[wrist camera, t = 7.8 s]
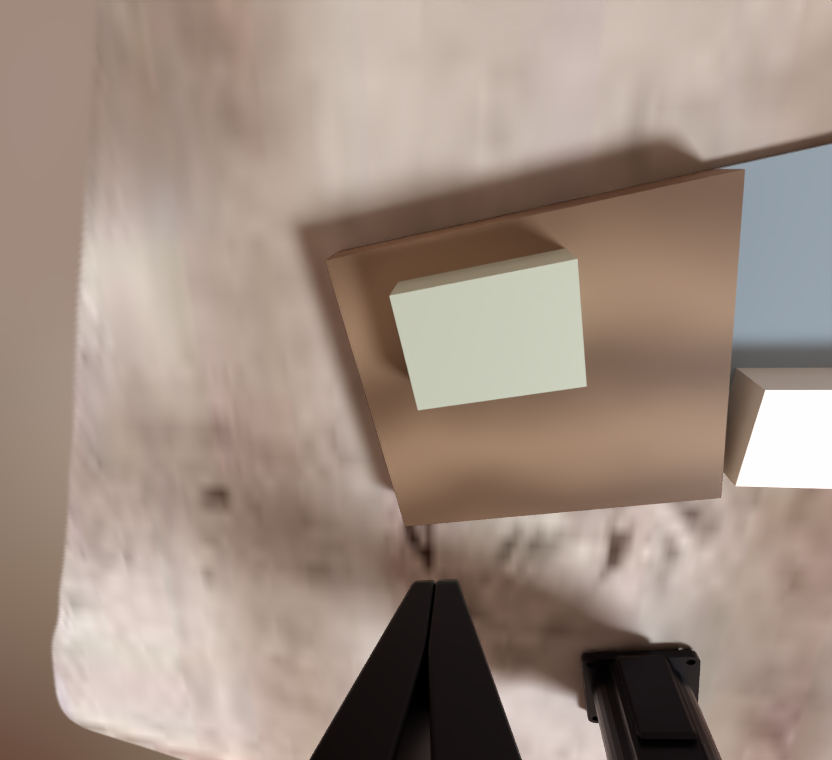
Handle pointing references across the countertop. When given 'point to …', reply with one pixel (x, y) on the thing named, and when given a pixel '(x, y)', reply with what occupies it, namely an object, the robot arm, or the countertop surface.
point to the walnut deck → (603, 348)
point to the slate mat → (785, 262)
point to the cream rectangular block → (780, 428)
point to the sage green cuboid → (492, 330)
